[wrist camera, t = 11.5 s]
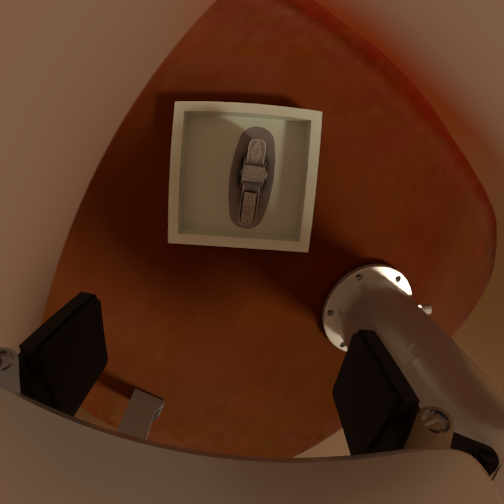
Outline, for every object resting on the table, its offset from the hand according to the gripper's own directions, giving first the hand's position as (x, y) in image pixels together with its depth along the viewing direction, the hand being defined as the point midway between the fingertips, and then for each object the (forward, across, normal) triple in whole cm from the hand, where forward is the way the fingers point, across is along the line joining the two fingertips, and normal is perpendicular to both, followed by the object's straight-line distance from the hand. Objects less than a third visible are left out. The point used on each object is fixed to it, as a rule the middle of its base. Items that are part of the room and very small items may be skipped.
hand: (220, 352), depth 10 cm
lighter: (+22, 0, -6) cm, 22 cm away
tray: (+22, +1, -6) cm, 23 cm away
